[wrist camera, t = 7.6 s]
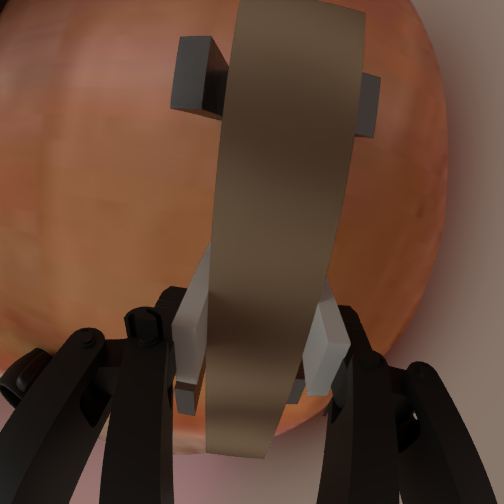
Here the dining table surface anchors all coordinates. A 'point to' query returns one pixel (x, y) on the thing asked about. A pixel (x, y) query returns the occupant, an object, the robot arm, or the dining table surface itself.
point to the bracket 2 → (190, 392)
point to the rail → (275, 206)
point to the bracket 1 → (215, 81)
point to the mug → (23, 375)
